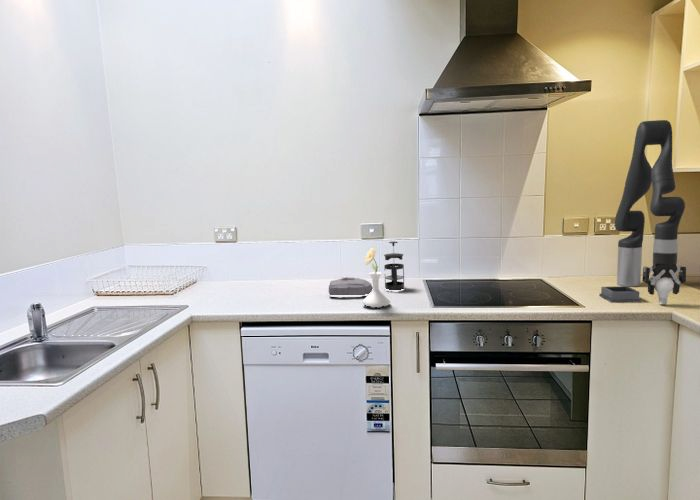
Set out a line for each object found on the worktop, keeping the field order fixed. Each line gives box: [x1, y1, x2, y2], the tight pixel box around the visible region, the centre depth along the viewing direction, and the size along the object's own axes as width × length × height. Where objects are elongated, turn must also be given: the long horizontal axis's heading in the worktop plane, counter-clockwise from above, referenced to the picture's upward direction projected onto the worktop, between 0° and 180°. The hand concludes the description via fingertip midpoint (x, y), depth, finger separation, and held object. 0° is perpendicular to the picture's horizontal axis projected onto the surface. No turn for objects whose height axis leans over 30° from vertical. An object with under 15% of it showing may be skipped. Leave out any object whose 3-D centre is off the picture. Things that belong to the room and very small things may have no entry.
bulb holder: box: [598, 285, 642, 304], centre depth 188 cm, size 11×11×4 cm
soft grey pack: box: [328, 276, 373, 296], centre depth 214 cm, size 15×8×20 cm
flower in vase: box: [362, 246, 391, 308], centre depth 191 cm, size 13×11×25 cm
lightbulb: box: [653, 277, 674, 306], centre depth 176 cm, size 6×6×11 cm
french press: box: [383, 241, 405, 290], centre depth 220 cm, size 12×9×23 cm
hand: (663, 294), depth 176 cm, fingers open, 8 cm apart
